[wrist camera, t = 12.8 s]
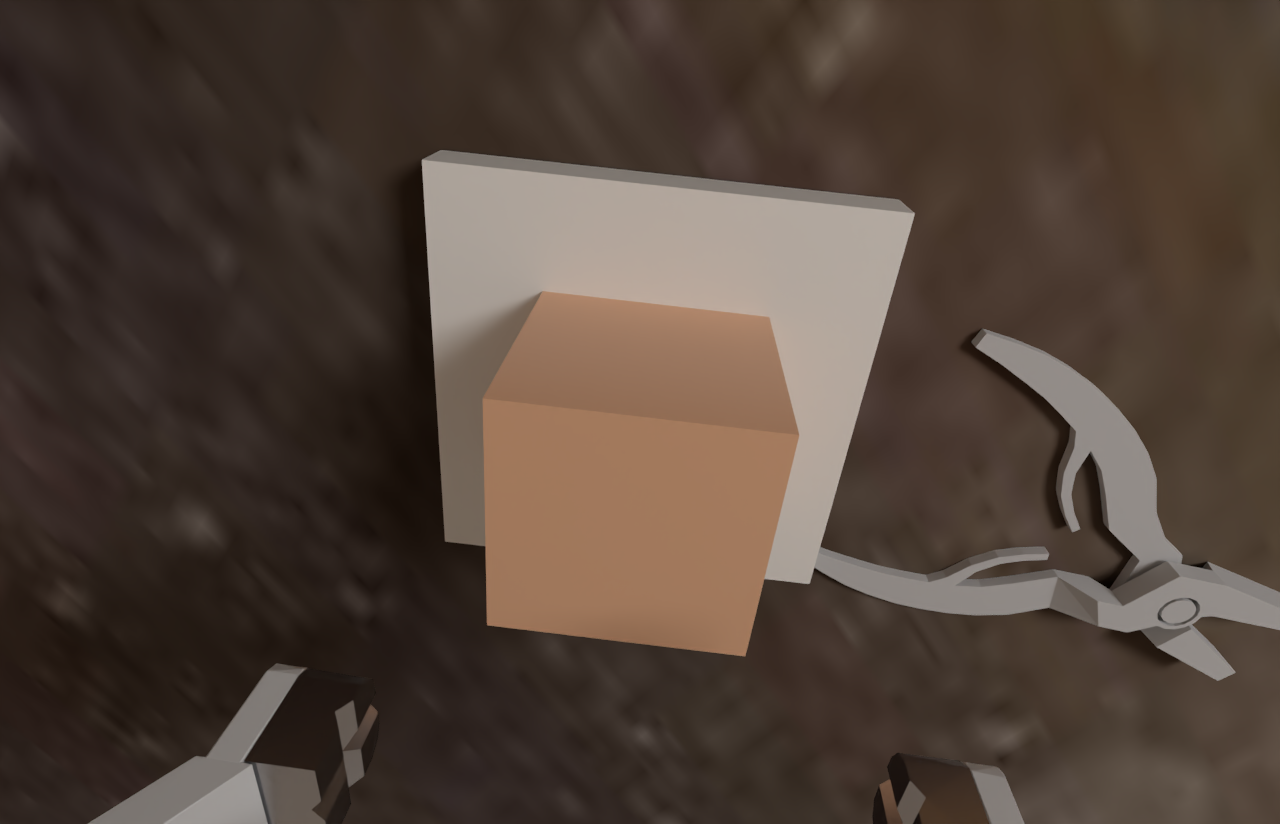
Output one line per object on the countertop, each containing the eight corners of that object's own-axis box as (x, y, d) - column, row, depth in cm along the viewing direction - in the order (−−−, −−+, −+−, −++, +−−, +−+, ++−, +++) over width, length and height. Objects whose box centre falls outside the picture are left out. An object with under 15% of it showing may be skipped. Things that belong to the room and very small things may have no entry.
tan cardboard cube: (733, 500, 21) (745, 656, 16) (538, 477, 21) (486, 625, 16) (769, 316, 18) (799, 434, 13) (542, 291, 18) (482, 398, 13)
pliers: (1005, 338, 18) (1407, 555, 21) (983, 316, 20) (1363, 522, 22) (800, 581, 23) (1150, 735, 25) (794, 549, 24) (1126, 699, 27)
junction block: (803, 553, 24) (830, 686, 19) (458, 513, 24) (400, 635, 19) (899, 199, 18) (972, 263, 13) (440, 149, 18) (350, 195, 13)
